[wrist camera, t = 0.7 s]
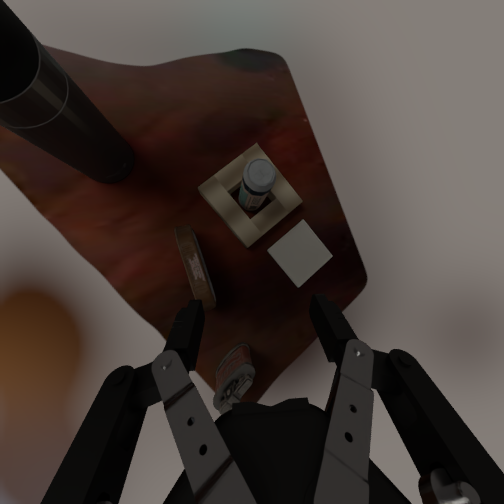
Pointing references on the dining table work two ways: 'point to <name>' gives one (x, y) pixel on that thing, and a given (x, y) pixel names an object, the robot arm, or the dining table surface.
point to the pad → (300, 253)
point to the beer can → (256, 183)
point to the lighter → (233, 377)
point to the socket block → (229, 210)
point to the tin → (195, 266)
